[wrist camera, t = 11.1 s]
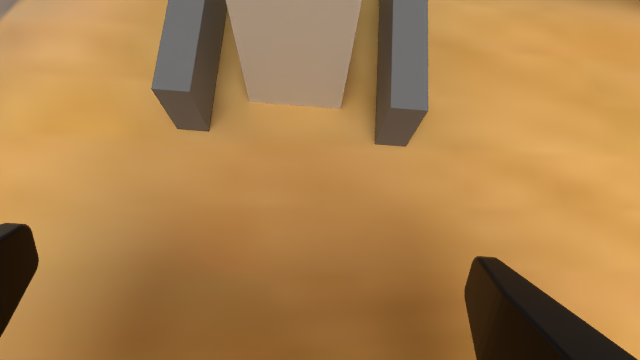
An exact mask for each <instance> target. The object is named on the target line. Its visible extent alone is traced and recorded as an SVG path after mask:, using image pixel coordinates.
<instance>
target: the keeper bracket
mask: <svg viewBox="0 0 640 360" xmlns="http://www.w3.org/2000/svg"><path fill="white" fill-rule="evenodd" d="M226 11H227V4H226V0H168V5H167V10H166V15H165V20H164V26H163V31H162V36H161V41H160V46H159V52H158V57H157V62H156V67H155V73H154V78H153V83H152V88H151V89H152V91H153V92H154V94H155V95H156V97H157V98H158V100H159V101H160V103H161V104H162V106H163V107H164V109H165V110H166V112H167V114H168V115H169V117H170V118H171V120H172V121H173V123H174V124H175V126H176V127H177V129H186V130H199V131H209V127H210V120H211V113H212V106H213V100H214V93H215V86H216V79H217V72H218V66H219V59H220V52H221V45H222V38H223V31H224V25H225V18H226ZM427 112H428V0H380V3H379V34H378V65H377V96H376V127H375V144H381V145H394V146H406V145H407V144H408V142H409V140H410V139H411V137H412V136H413V134H414V132H415V131H416V129H417V128H418V126H419V124H420V123H421V121H422V120H423V118H424V117H425V115H426V113H427Z"/></svg>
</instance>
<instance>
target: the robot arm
mask: <svg viewBox="0 0 640 360" xmlns="http://www.w3.org/2000/svg"><path fill="white" fill-rule="evenodd" d="M38 262H39V258H38V253H37V250H36V246H35V242H34V238H33V234H32V231H31V229H30V227H29V226H27V225H26V224H15V223H4V224H1V225H0V337H1V335H2V333H3V332H4V330H5V328H6V326H7V325H8V323H9V321H10V319H11V317H12V315H13V313H14V312H15V310H16V308H17V306H18V304H19V302H20V300H21V298H22V297H23V295H24V293H25V291H26V289H27V287H28V285H29V283H30V281H31V280H32V278H33V276H34V274H35V272H36V270H37V267H38ZM464 295H465V302H466V308H467V313H468V318H469V323H470V328H471V333H472V338H473V343H474V349H475V354H476V358H477V360H638V359H636V358H635V357H633V356H632V355H631V354H629V353H628V352H626V351H625V350H624V349H622V348H621V347H619V346H618V345H617V344H615V343H614V342H613V341H611V340H610V339H608V338H607V337H606V336H604V335H603V334H601V333H600V332H599V331H597V330H596V329H594V328H593V327H592V326H590V325H589V324H588V323H586V322H585V321H583V320H582V319H581V318H579V317H578V316H576V315H575V314H574V313H572V312H571V311H569V310H568V309H567V308H565V307H564V306H563V305H561V304H560V303H558V302H557V301H556V300H554V299H553V298H551V297H550V296H549V295H547V294H546V293H544V292H543V291H542V290H540V289H539V288H538V287H536V286H535V285H533V284H532V283H531V282H529V281H528V280H526V279H525V278H524V277H522V276H521V275H519V274H518V273H517V272H515V271H514V270H513V269H511V268H510V267H508V266H507V265H506V264H504V263H503V262H501V261H500V260H499V259H497V258H495V257H482V256H477V257H476V258H474V260H473V262H472V265H471V268H470V272H469V275H468V279H467V282H466V286H465V294H464Z"/></svg>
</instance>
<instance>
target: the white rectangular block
mask: <svg viewBox="0 0 640 360" xmlns="http://www.w3.org/2000/svg"><path fill="white" fill-rule="evenodd" d="M361 3H362V0H226V4H227V8H228V13H229V17H230V21H231V26H232V30H233V34H234V38H235V43H236V47H237V51H238V55H239V60H240V64H241V68H242V73H243V77H244V81H245V85H246V90H247V94H248V98H249V102H256V103H269V104H282V105H295V106H308V107H321V108H334V109H341V104H342V99H343V94H344V89H345V84H346V79H347V74H348V69H349V64H350V59H351V54H352V49H353V44H354V39H355V33H356V28H357V23H358V18H359V13H360V8H361Z"/></svg>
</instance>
